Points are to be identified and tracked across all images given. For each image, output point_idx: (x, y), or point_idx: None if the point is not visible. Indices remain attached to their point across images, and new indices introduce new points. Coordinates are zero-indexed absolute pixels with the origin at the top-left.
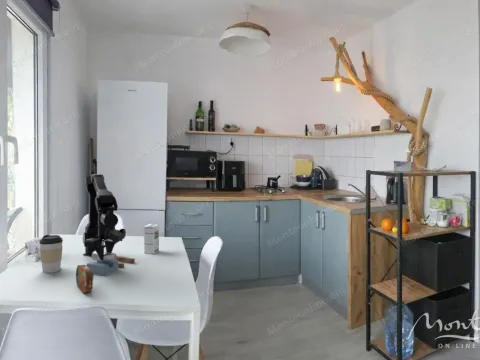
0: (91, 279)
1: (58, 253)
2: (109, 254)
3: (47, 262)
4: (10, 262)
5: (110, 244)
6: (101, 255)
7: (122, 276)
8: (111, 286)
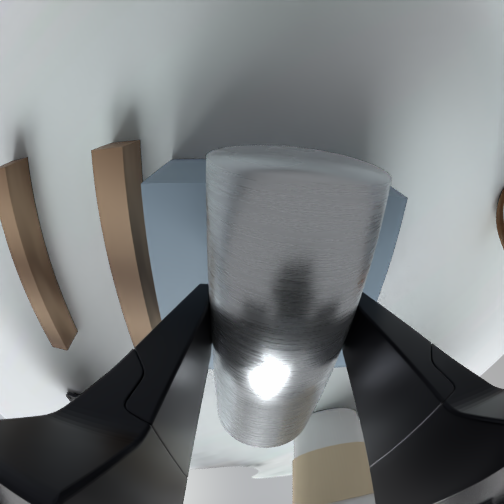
0: None
1: (351, 476)
2: (359, 251)
3: None
4: (289, 475)
5: (153, 476)
6: (401, 331)
7: (329, 8)
8: (487, 30)
